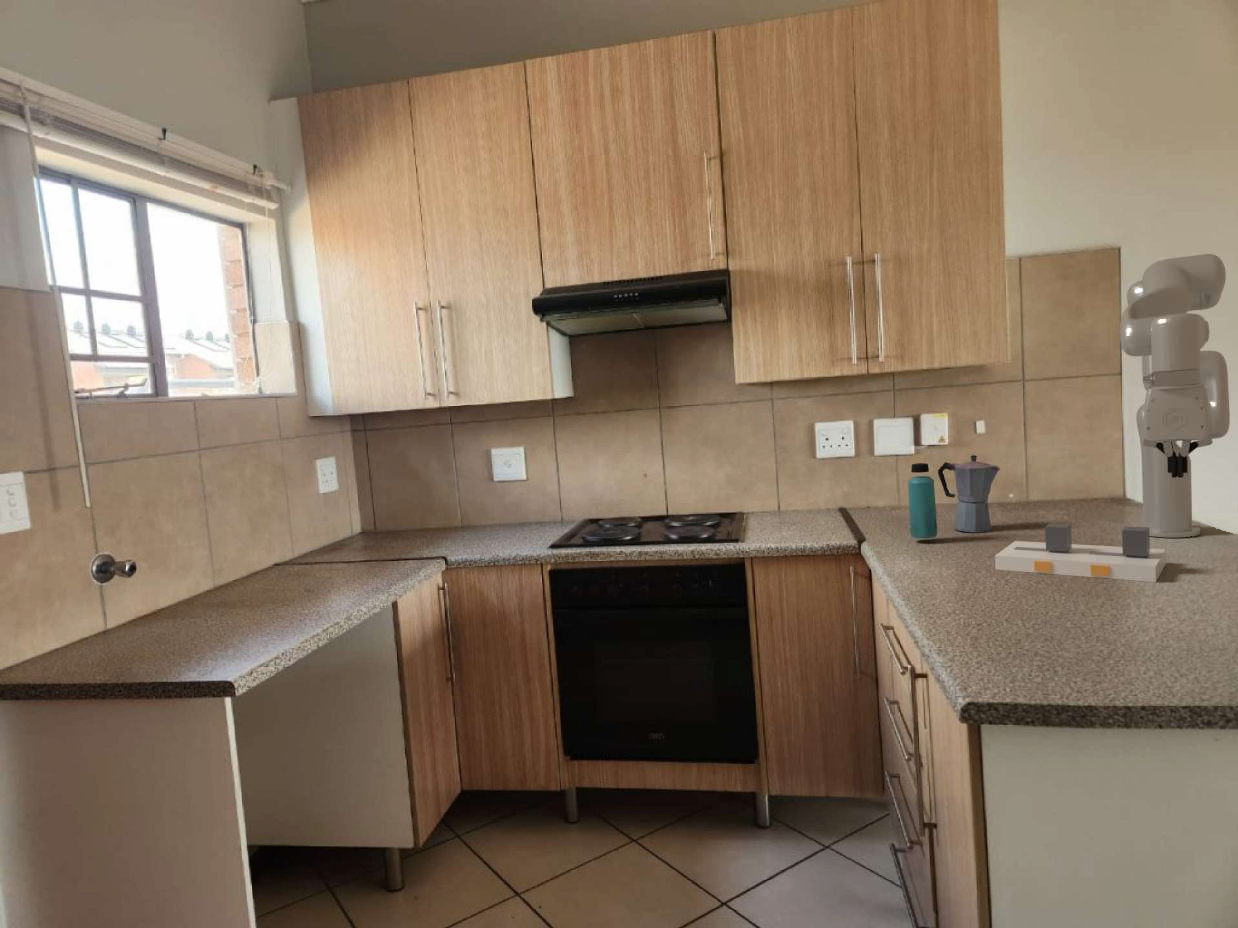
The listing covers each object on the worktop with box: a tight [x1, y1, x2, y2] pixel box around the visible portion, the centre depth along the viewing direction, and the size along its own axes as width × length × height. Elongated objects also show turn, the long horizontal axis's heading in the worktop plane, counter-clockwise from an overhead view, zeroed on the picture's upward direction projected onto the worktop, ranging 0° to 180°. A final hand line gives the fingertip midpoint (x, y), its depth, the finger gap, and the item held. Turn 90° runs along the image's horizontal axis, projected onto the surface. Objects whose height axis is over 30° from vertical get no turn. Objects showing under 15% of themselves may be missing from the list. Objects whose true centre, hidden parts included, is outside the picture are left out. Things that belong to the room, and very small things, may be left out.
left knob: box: [1044, 523, 1073, 552], centre depth 163 cm, size 4×4×5 cm
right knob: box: [1121, 525, 1151, 556], centre depth 154 cm, size 4×4×5 cm
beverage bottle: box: [907, 462, 939, 539], centre depth 195 cm, size 6×7×20 cm
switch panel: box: [994, 540, 1167, 583], centre depth 161 cm, size 16×28×3 cm, turn 49°
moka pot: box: [937, 454, 1002, 534], centre depth 205 cm, size 10×15×20 cm, turn 58°
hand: (1177, 476), depth 148 cm, fingers closed
